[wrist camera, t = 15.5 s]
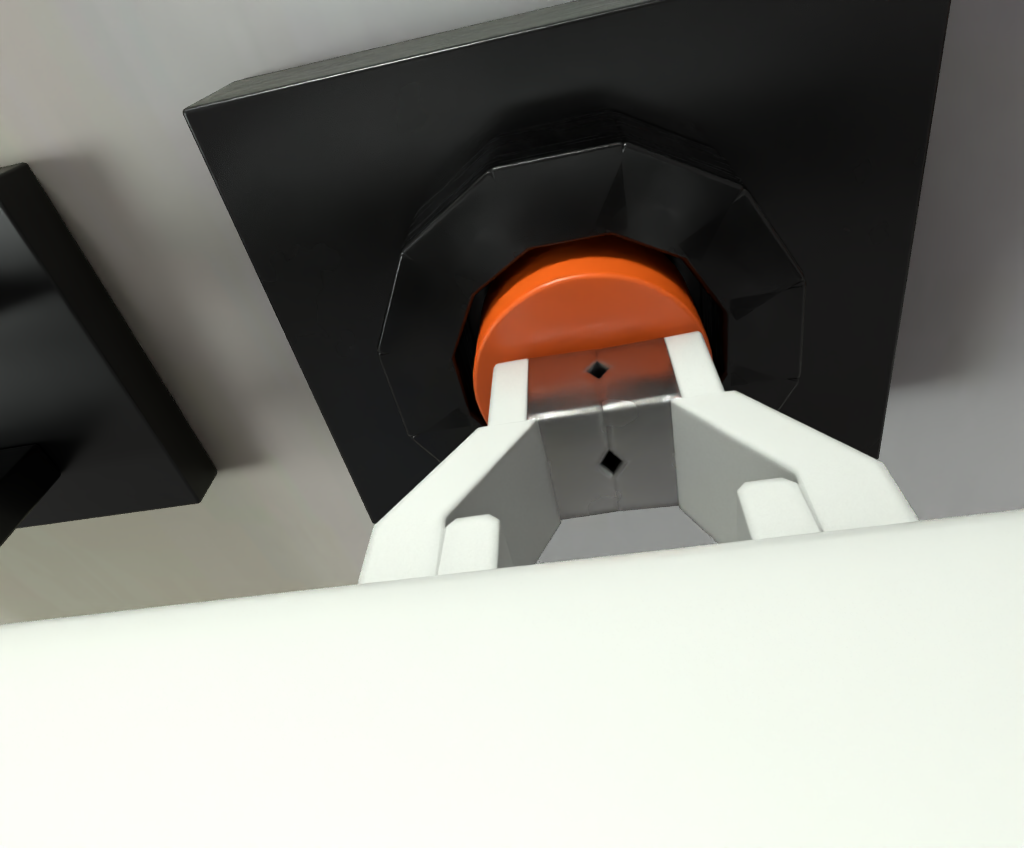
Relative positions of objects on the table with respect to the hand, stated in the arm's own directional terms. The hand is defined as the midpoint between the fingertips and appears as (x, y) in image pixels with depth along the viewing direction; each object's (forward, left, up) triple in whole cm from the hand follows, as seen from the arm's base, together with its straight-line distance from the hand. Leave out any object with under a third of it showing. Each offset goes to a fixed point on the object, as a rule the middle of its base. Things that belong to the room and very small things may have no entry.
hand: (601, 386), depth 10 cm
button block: (0, 0, -5) cm, 5 cm away
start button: (0, 0, -2) cm, 2 cm away
